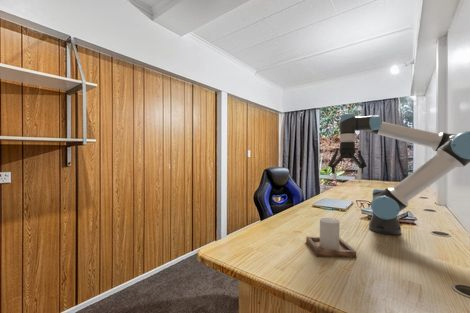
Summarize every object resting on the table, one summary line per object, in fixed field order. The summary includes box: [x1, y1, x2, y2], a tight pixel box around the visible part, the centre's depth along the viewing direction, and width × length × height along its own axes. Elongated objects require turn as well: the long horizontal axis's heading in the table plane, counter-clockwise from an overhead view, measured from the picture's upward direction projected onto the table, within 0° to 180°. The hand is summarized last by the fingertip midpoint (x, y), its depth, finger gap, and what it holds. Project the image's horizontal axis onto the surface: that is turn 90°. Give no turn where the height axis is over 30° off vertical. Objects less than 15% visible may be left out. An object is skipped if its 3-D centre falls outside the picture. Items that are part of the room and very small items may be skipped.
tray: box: [305, 236, 357, 259], centre depth 100 cm, size 16×16×2 cm
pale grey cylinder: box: [319, 217, 341, 250], centre depth 100 cm, size 8×8×12 cm
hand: (347, 179), depth 124 cm, fingers open, 13 cm apart
